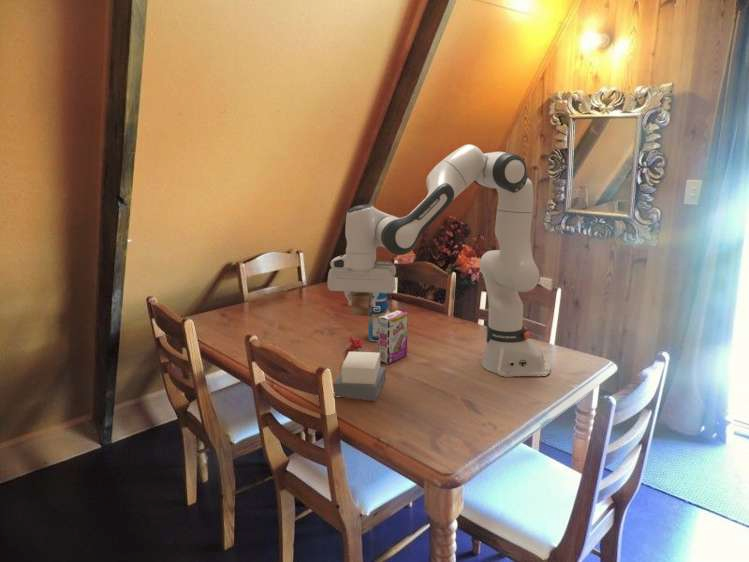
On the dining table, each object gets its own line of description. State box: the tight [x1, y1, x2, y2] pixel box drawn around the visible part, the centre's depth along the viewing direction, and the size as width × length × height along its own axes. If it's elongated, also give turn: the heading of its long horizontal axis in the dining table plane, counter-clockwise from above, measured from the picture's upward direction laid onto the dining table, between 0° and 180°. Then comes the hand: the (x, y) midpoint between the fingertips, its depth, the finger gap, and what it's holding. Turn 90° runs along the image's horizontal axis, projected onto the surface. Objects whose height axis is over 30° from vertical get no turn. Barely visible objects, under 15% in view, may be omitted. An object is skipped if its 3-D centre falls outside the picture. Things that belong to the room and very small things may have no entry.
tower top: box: [340, 351, 381, 384], centre depth 172 cm, size 10×13×5 cm
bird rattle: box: [342, 336, 365, 362], centre depth 189 cm, size 6×11×9 cm
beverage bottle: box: [367, 293, 391, 343], centre depth 214 cm, size 8×8×20 cm
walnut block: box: [350, 292, 372, 317], centre depth 167 cm, size 5×5×6 cm
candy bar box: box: [377, 309, 409, 365], centre depth 195 cm, size 11×5×16 cm, turn 141°
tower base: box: [332, 366, 387, 402], centre depth 173 cm, size 13×15×5 cm
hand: (361, 305), depth 167 cm, fingers closed on walnut block, 5 cm apart
